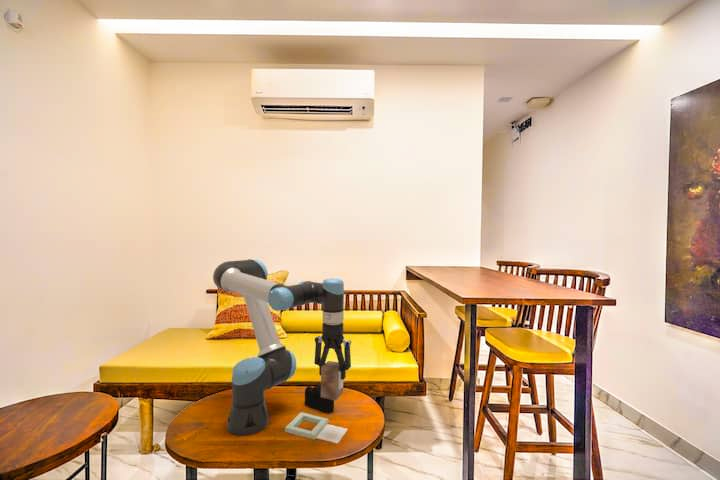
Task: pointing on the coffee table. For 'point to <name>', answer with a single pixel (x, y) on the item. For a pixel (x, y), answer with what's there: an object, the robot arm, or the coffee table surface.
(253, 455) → the coffee table surface
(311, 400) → the film camera
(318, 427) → the pocket board
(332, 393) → the walnut block
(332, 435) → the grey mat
